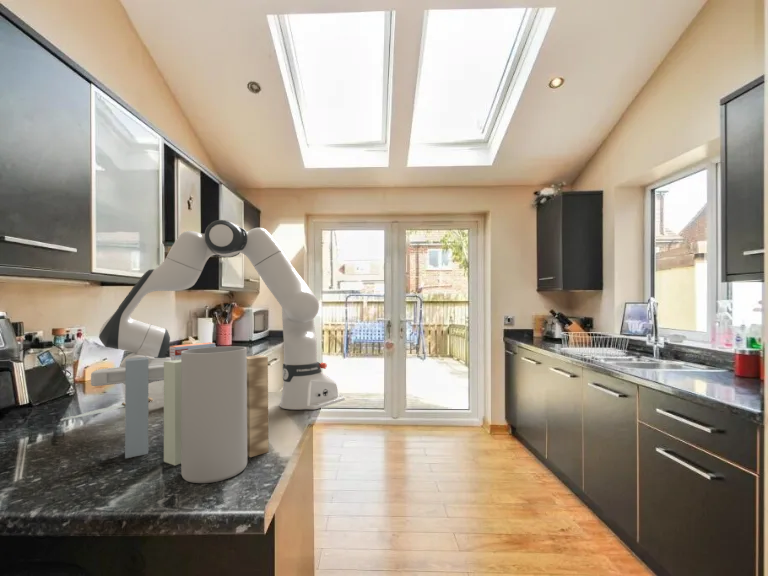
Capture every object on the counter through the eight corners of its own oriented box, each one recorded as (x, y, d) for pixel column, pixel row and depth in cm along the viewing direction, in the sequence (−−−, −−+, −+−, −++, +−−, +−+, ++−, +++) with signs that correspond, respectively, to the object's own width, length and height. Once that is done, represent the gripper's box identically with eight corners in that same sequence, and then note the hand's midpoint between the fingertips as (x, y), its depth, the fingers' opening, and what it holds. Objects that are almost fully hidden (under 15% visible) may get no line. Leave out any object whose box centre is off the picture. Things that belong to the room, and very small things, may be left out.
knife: (64, 420, 119) (58, 416, 121) (64, 425, 119) (58, 420, 122) (155, 399, 141) (149, 395, 144) (155, 403, 141) (148, 400, 144)
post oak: (260, 447, 93) (259, 355, 94) (268, 451, 90) (267, 356, 91) (241, 452, 90) (241, 357, 91) (249, 457, 87) (249, 358, 88)
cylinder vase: (178, 490, 72) (178, 355, 73) (183, 465, 83) (183, 348, 84) (249, 477, 77) (248, 350, 78) (245, 455, 88) (244, 345, 89)
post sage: (183, 454, 90) (183, 358, 90) (194, 458, 87) (194, 360, 88) (163, 461, 86) (163, 361, 87) (175, 465, 83) (175, 362, 84)
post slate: (147, 448, 94) (147, 357, 95) (148, 453, 91) (148, 359, 91) (125, 452, 92) (125, 358, 93) (125, 458, 88) (125, 361, 89)
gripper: (92, 363, 107) (87, 370, 96) (176, 356, 118) (180, 361, 107) (92, 386, 107) (87, 396, 95) (176, 377, 118) (180, 384, 106)
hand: (137, 377), depth 101 cm, fingers closed
